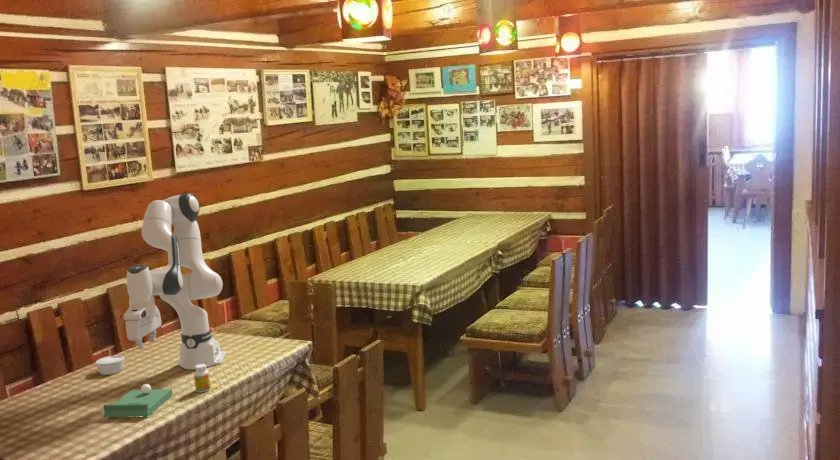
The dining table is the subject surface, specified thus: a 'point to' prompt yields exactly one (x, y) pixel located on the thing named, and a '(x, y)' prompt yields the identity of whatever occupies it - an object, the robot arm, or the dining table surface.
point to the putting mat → (137, 403)
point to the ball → (146, 388)
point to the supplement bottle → (201, 378)
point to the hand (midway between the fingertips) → (147, 345)
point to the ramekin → (110, 365)
